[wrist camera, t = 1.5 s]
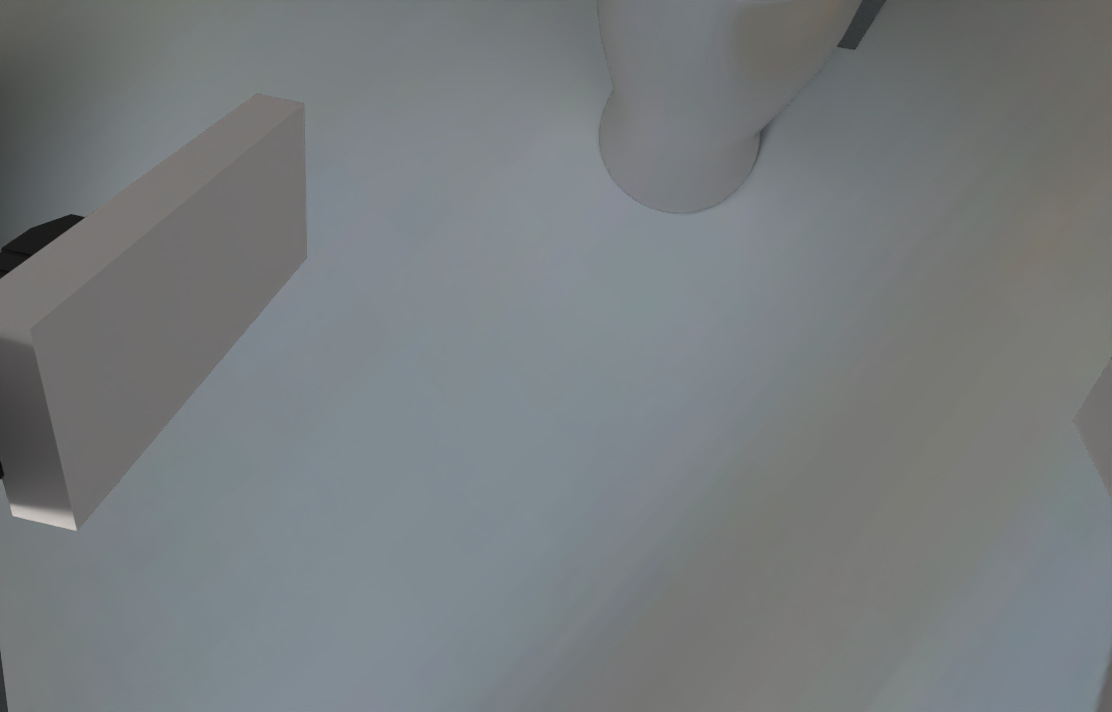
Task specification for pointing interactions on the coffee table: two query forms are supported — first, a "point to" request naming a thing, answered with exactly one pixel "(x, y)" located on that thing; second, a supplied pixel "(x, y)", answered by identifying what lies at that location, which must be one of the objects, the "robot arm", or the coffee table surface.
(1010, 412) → the coffee table surface
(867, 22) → the grey block with hole
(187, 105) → the coffee table surface
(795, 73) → the beer glass
